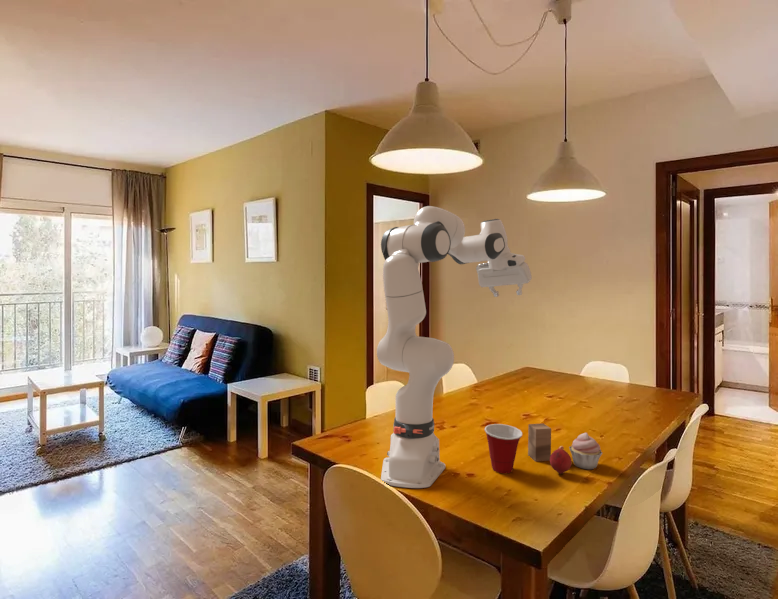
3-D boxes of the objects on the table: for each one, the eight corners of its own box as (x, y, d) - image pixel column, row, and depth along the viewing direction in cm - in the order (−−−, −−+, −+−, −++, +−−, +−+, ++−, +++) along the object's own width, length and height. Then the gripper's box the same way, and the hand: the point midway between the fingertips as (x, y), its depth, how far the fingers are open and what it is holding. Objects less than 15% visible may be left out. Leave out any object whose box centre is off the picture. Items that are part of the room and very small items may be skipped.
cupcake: (608, 472, 135) (608, 438, 135) (575, 471, 135) (576, 438, 135) (594, 459, 145) (595, 427, 144) (564, 459, 145) (564, 427, 144)
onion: (563, 479, 130) (563, 451, 130) (545, 472, 135) (545, 445, 134) (575, 474, 134) (575, 447, 133) (557, 468, 138) (558, 441, 138)
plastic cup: (505, 481, 129) (505, 438, 129) (476, 468, 138) (476, 428, 138) (530, 471, 136) (530, 430, 135) (500, 459, 145) (501, 421, 144)
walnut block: (550, 460, 144) (551, 428, 143) (535, 461, 143) (535, 429, 143) (542, 454, 149) (543, 423, 148) (528, 455, 148) (528, 424, 148)
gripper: (471, 266, 179) (479, 300, 182) (522, 260, 166) (530, 296, 169) (478, 261, 183) (486, 294, 187) (528, 255, 170) (536, 290, 174)
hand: (507, 295), depth 178 cm, fingers open, 8 cm apart
